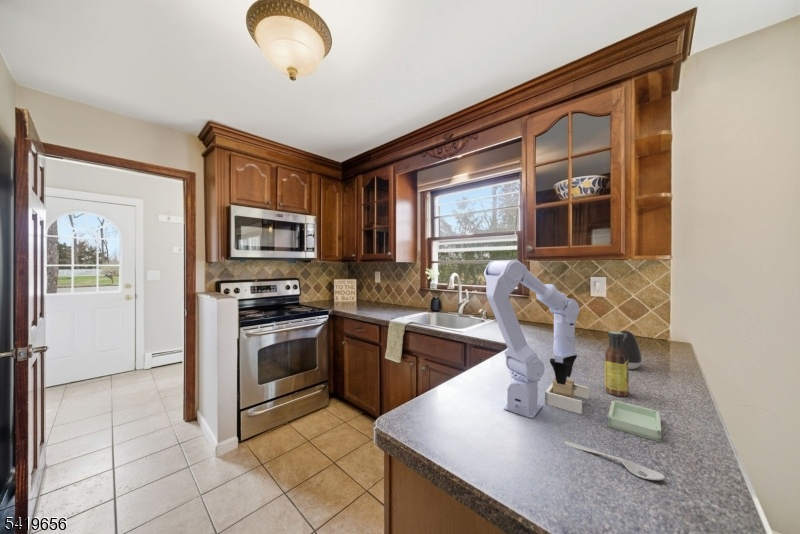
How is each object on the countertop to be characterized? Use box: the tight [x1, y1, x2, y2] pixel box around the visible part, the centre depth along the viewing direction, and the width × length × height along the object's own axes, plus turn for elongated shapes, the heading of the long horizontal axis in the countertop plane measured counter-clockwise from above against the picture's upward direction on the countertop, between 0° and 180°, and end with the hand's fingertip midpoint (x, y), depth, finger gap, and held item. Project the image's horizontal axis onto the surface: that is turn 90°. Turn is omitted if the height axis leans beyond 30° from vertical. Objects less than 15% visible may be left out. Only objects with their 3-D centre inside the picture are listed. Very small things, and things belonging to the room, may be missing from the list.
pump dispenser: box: [619, 330, 643, 370], centre depth 120 cm, size 10×10×15 cm
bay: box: [544, 382, 590, 415], centre depth 90 cm, size 13×10×4 cm
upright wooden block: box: [552, 377, 577, 399], centre depth 90 cm, size 4×6×6 cm
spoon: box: [563, 440, 666, 481], centre depth 64 cm, size 4×21×2 cm, turn 43°
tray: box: [607, 399, 662, 443], centre depth 77 cm, size 13×10×2 cm
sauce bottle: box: [604, 331, 630, 397], centre depth 96 cm, size 7×6×20 cm
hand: (563, 379), depth 91 cm, fingers open, 7 cm apart
